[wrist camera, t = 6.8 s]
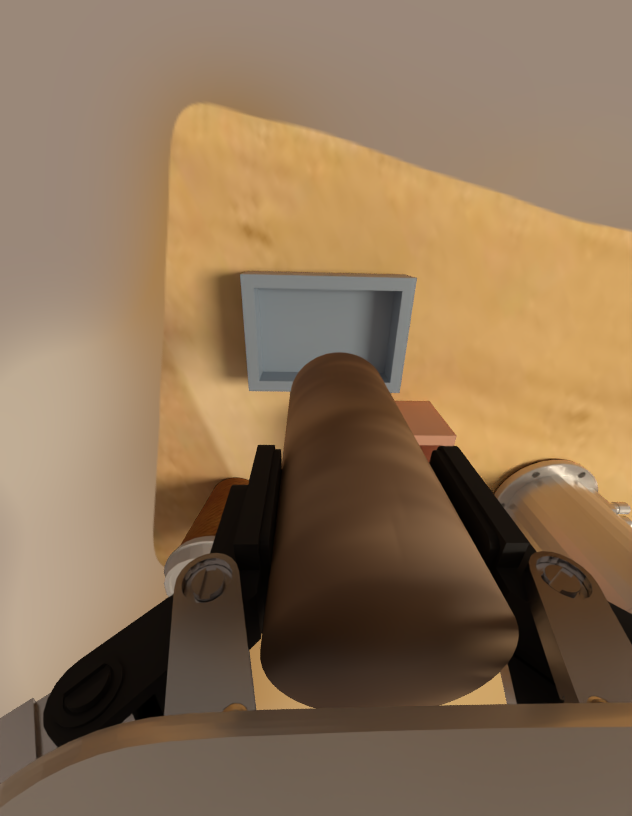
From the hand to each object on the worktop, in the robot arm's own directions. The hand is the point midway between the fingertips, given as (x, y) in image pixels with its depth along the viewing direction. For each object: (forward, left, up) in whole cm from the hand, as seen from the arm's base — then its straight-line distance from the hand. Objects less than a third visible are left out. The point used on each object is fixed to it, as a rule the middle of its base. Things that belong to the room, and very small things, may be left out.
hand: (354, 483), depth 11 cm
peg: (0, 0, -7) cm, 7 cm away
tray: (0, 0, -22) cm, 22 cm away
